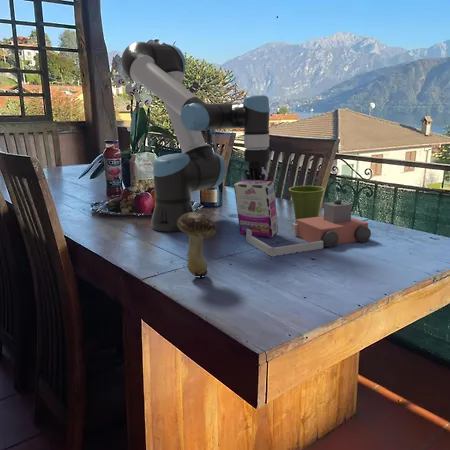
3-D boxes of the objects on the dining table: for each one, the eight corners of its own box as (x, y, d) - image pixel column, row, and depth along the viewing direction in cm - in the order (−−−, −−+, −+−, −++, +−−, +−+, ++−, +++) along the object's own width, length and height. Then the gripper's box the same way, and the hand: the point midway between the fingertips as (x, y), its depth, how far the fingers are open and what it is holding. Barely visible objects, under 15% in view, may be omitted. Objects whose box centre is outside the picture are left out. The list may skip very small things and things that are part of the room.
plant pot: (297, 215, 161) (298, 184, 158) (329, 219, 154) (330, 187, 151) (281, 223, 151) (282, 189, 149) (314, 227, 145) (315, 193, 142)
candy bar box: (279, 231, 137) (274, 180, 130) (272, 238, 133) (267, 186, 127) (247, 227, 143) (241, 178, 136) (239, 234, 139) (232, 184, 132)
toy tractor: (271, 256, 117) (271, 215, 114) (244, 240, 132) (244, 203, 129) (371, 241, 129) (373, 203, 126) (336, 227, 144) (337, 193, 141)
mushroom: (179, 271, 108) (176, 210, 105) (215, 269, 109) (214, 208, 105) (179, 286, 99) (176, 219, 95) (218, 284, 100) (216, 218, 96)
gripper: (278, 149, 132) (278, 227, 138) (258, 146, 143) (258, 218, 149) (255, 150, 129) (256, 230, 135) (236, 147, 141) (238, 221, 146)
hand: (257, 224), depth 142 cm, fingers closed
